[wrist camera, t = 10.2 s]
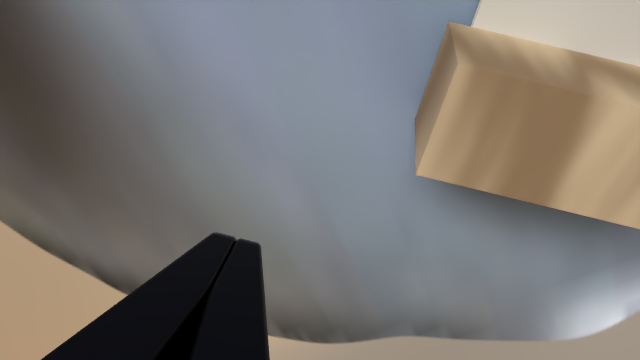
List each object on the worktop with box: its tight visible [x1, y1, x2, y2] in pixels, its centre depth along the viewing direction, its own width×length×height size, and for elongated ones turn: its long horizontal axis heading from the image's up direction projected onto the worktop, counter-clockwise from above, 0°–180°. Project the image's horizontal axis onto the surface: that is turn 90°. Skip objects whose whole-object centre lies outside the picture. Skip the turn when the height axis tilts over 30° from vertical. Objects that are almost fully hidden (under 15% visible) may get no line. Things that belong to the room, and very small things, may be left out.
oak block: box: [415, 22, 640, 229], centre depth 16 cm, size 4×4×9 cm
